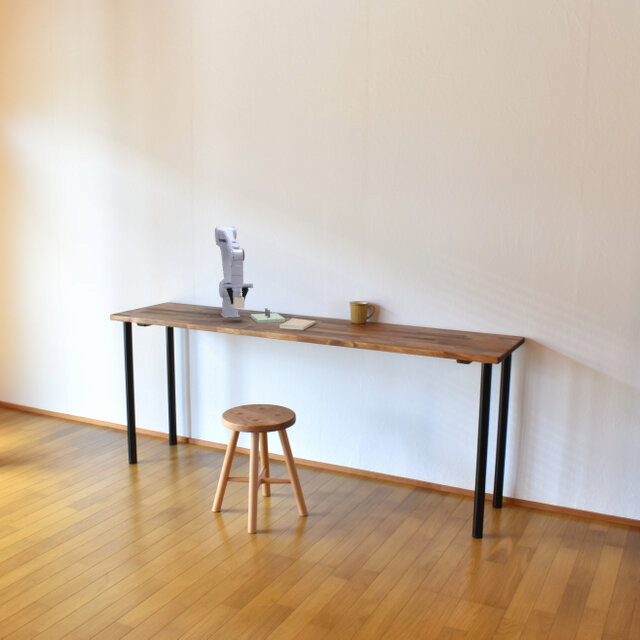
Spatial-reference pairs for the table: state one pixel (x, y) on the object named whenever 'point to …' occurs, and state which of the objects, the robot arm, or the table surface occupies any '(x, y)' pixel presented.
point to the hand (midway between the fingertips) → (237, 303)
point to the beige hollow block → (238, 302)
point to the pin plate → (267, 317)
